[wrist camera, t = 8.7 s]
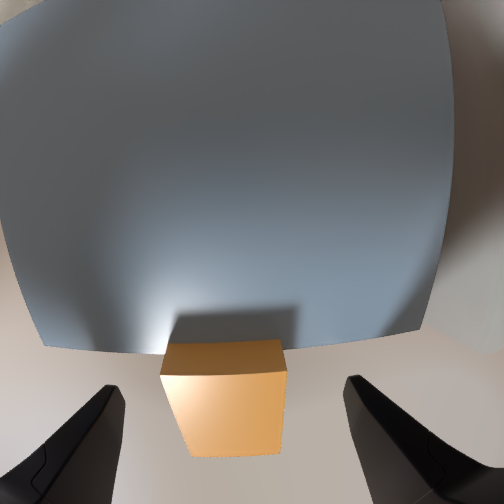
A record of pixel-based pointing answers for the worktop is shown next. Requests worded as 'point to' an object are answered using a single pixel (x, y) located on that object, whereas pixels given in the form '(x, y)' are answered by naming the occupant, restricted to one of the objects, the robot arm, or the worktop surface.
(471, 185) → the worktop surface
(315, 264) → the lid
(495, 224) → the worktop surface
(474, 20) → the worktop surface
